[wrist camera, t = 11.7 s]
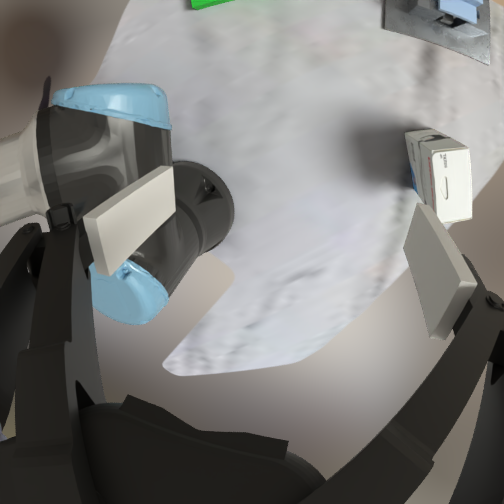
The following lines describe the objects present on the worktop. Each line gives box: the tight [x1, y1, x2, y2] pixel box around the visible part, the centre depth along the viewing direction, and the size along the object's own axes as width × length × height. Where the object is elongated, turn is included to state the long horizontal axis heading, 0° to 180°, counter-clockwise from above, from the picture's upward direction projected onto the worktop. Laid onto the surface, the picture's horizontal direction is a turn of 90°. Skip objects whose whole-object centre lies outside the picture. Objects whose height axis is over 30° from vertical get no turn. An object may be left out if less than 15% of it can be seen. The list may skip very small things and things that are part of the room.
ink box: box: [405, 129, 472, 224], centre depth 30 cm, size 8×5×12 cm, turn 19°
